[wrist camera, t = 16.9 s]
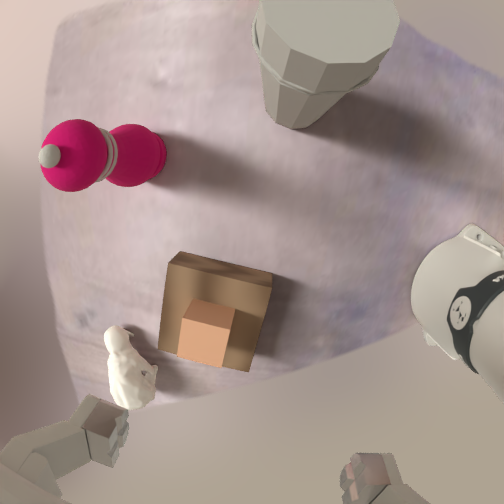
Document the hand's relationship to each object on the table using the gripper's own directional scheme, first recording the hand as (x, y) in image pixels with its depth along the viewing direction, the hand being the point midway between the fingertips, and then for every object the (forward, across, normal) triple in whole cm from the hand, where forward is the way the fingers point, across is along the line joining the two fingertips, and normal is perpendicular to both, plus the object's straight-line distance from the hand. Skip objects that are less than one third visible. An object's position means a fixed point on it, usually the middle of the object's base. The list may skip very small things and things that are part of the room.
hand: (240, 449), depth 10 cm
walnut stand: (+31, +4, +10) cm, 33 cm away
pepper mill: (+31, +17, -7) cm, 36 cm away
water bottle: (+31, 0, -18) cm, 36 cm away
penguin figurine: (+31, +15, +22) cm, 41 cm away
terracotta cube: (+26, +4, +10) cm, 28 cm away
